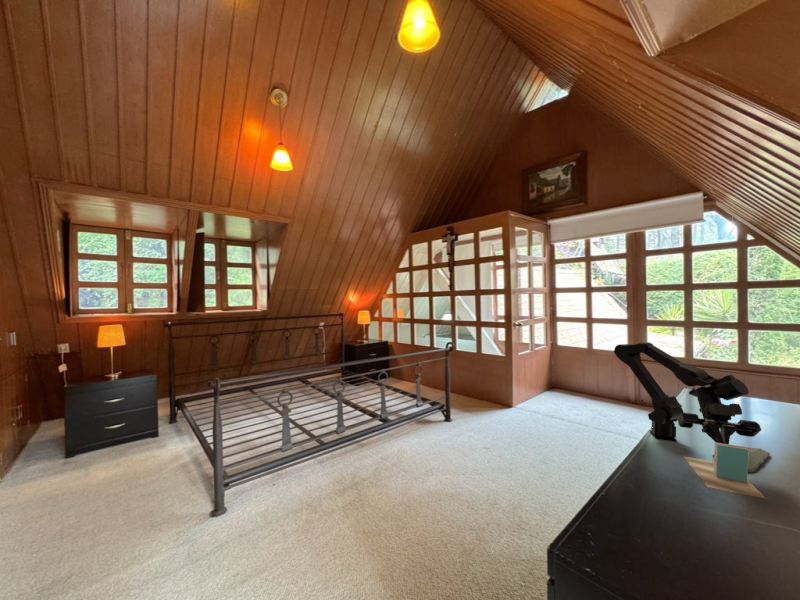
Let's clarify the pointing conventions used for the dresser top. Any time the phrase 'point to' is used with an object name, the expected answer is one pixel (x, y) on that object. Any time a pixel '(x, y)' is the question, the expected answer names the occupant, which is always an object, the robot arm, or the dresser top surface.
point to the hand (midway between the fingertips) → (725, 451)
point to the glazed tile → (731, 462)
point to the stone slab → (755, 458)
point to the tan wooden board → (720, 479)
